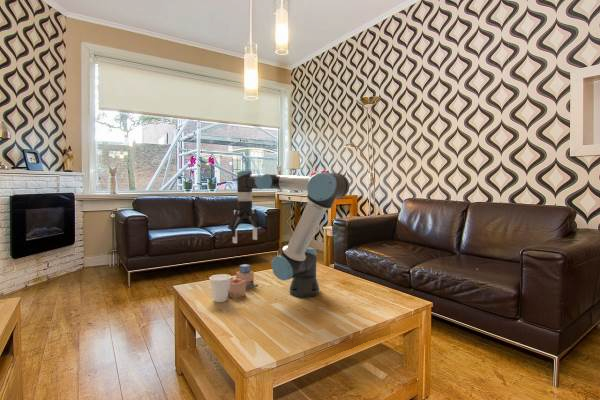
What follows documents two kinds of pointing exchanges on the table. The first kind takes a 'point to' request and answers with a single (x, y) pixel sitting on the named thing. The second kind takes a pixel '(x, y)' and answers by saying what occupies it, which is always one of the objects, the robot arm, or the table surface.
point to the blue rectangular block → (244, 268)
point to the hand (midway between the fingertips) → (245, 241)
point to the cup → (220, 287)
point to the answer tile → (251, 286)
